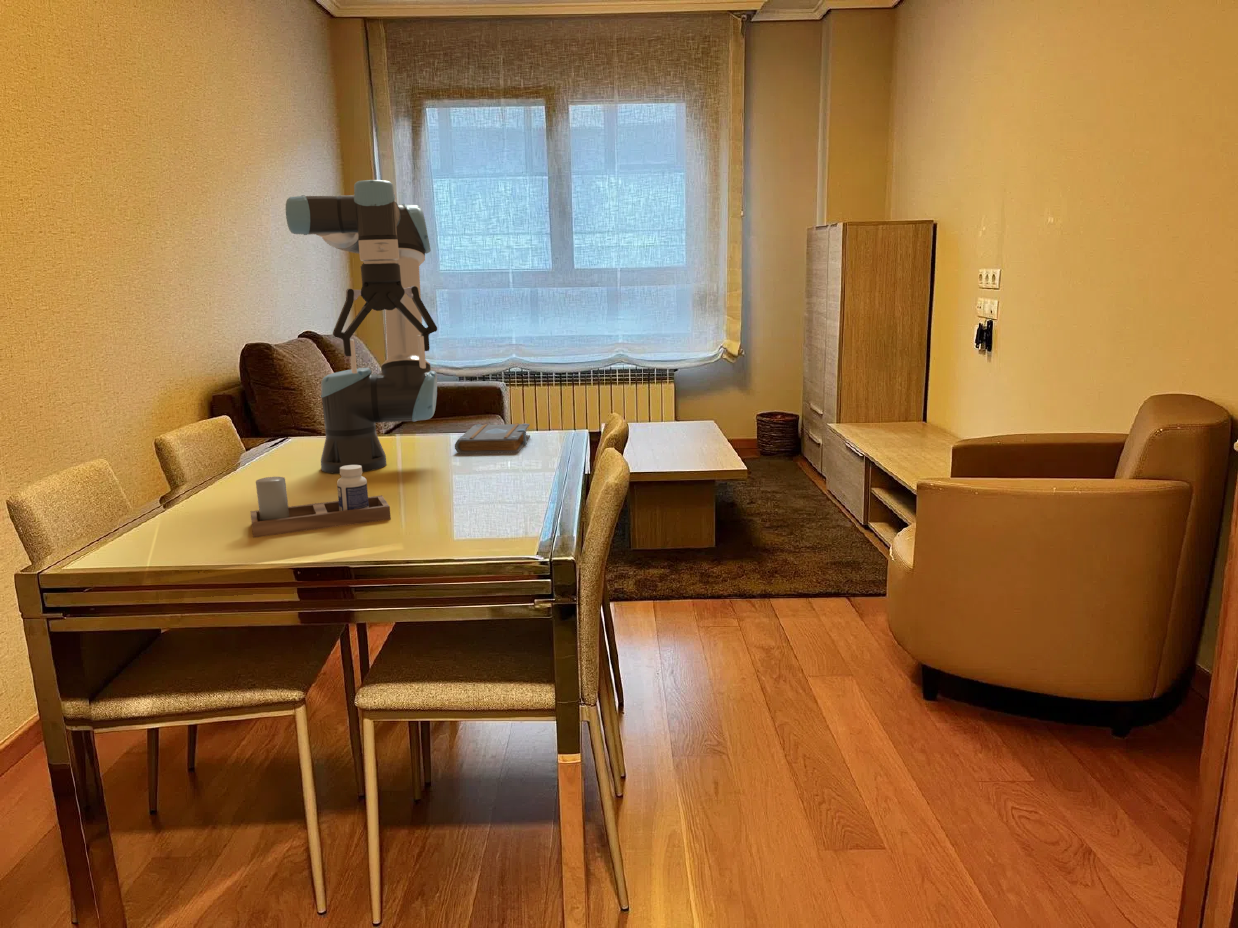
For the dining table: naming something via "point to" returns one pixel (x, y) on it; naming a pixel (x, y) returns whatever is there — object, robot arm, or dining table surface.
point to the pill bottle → (352, 488)
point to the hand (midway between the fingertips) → (389, 370)
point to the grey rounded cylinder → (272, 498)
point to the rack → (320, 517)
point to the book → (493, 439)
